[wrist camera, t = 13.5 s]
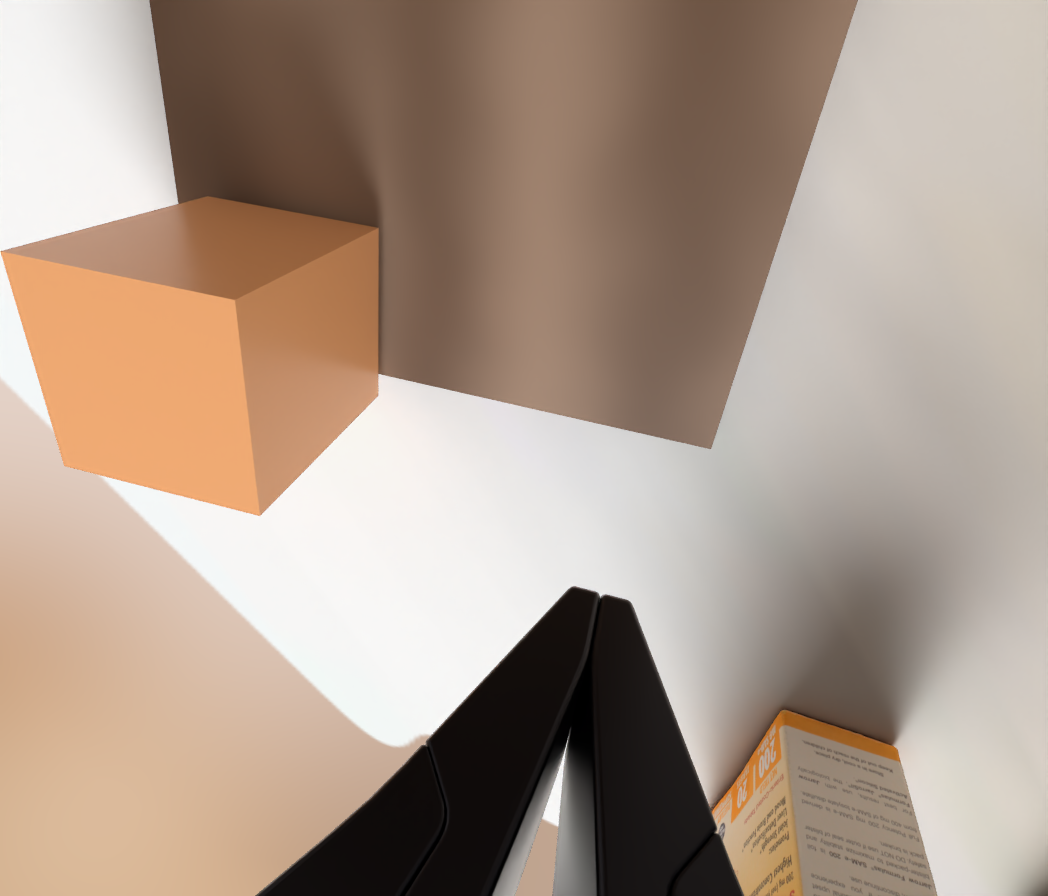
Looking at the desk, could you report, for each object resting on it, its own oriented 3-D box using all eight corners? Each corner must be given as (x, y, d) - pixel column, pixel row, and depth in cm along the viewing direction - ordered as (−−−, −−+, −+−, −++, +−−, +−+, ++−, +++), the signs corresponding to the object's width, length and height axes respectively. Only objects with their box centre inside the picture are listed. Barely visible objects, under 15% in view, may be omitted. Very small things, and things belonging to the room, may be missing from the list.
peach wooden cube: (378, 228, 18) (235, 299, 13) (378, 395, 21) (259, 515, 15) (207, 196, 19) (0, 251, 13) (229, 362, 22) (64, 465, 16)
